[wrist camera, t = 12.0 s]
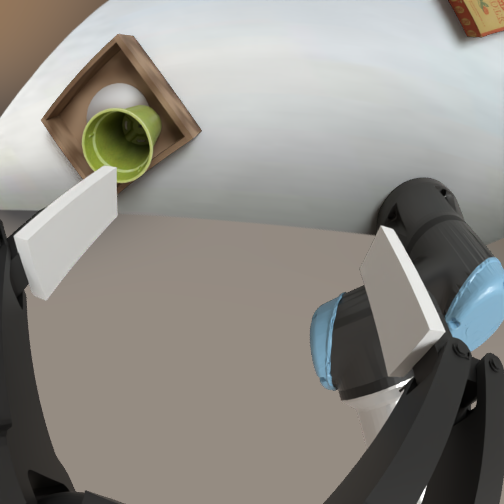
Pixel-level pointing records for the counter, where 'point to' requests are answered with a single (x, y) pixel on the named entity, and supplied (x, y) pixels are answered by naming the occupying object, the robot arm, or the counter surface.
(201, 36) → the counter surface
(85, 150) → the plant pot
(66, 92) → the brown wooden square tray
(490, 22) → the carton
